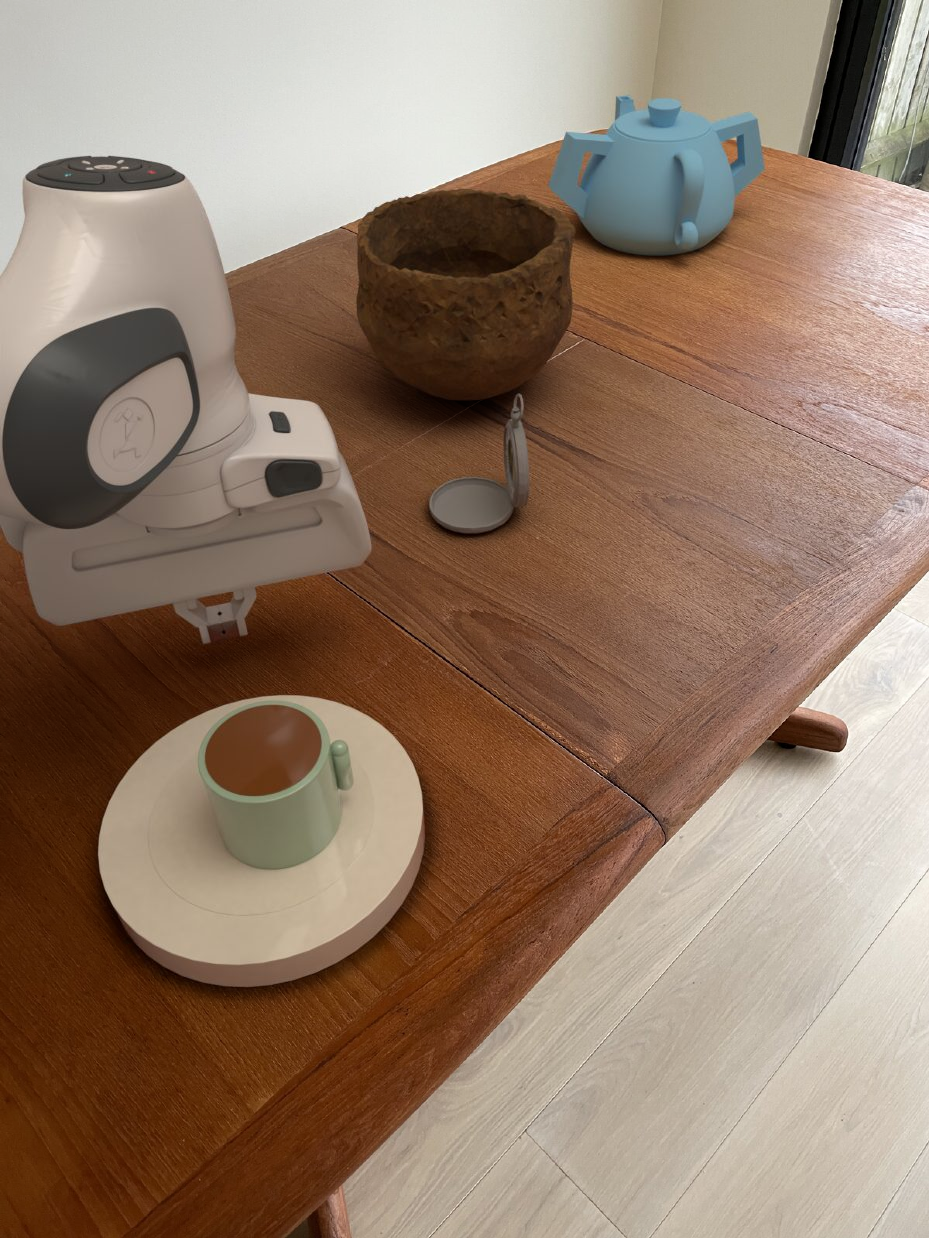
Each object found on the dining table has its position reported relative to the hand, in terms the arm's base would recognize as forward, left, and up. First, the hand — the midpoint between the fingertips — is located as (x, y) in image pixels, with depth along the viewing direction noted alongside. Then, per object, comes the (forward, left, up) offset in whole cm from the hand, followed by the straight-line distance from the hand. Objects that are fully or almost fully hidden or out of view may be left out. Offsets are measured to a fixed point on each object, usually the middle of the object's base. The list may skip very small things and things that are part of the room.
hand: (224, 633), depth 66 cm
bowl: (+25, +30, -3) cm, 39 cm away
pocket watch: (+21, +11, -3) cm, 24 cm away
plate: (0, -15, -3) cm, 15 cm away
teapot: (+55, +57, -3) cm, 79 cm away
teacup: (+1, -15, -1) cm, 15 cm away
